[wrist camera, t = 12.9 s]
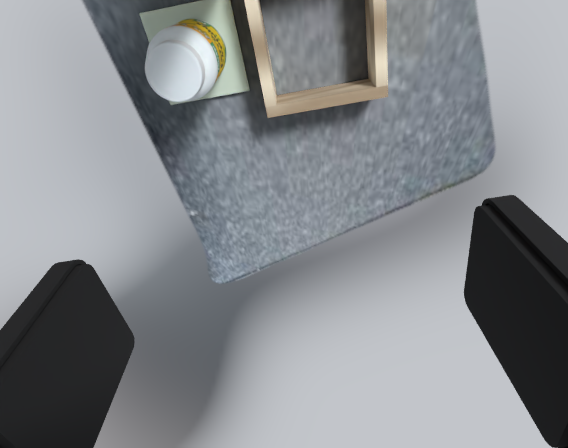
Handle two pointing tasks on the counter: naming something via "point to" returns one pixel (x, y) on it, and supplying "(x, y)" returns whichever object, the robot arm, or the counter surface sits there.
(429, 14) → the counter surface
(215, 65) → the supplement bottle
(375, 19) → the birch box
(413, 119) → the counter surface
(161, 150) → the counter surface
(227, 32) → the green mat
